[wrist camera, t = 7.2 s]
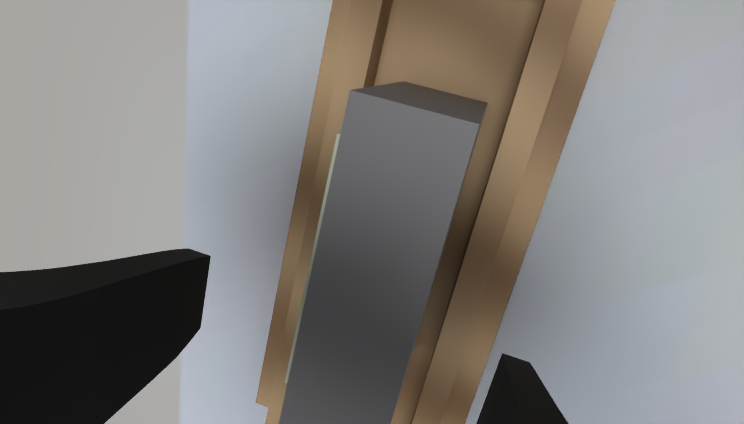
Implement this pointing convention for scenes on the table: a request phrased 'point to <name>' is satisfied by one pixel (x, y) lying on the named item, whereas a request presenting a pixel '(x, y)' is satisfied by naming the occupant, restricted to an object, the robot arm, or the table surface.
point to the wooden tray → (484, 175)
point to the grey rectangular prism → (377, 250)
